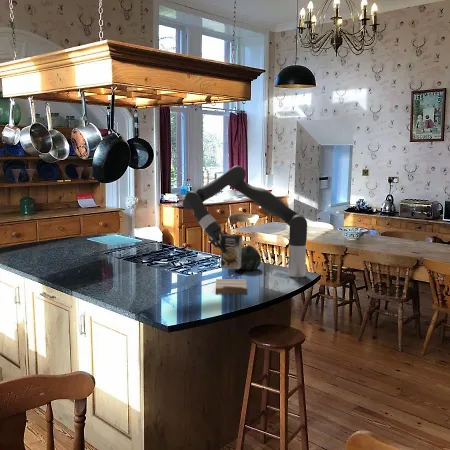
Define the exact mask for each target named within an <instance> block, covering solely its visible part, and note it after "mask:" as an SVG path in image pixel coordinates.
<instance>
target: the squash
mask: <svg viewBox="0 0 450 450" xmlns="http://www.w3.org/2000/svg"><path fill="white" fill-rule="evenodd" d="M261 263H262V258H261V254H260V252H259V251H258V250H257V249H256V248H255V247H254V246H252V245H246V246H244V247H242V249H241V267H240V268H239V269H241V270H246V271H247V272H249V271H254V270H257V269H258V268H259V267H260V265H261Z"/></svg>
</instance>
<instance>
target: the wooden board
mask: <svg viewBox="0 0 450 450" xmlns="http://www.w3.org/2000/svg"><path fill="white" fill-rule="evenodd" d="M215 294H238V295H239V294H248V286H247V279H245V278H242V279H239V278H238V279H237V278H235V279H233V278H228V279H227V278H215Z"/></svg>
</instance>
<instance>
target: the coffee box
mask: <svg viewBox="0 0 450 450" xmlns="http://www.w3.org/2000/svg"><path fill="white" fill-rule="evenodd" d="M242 241H243V235H242V234H233V233H232V234H229V233H227V234H224V235H222V245H223V246H224V247H225V248H226V250H227V252H226V253H225V254H224V253H223V252H222V251H221V250H220V252H221V253H220V255H221V256H220V259H221V260H220V269H229V270H231V269H232V270H239V269H240V267H241V249H242V248H243V247H242V246H243V245H242V244H243V243H242Z"/></svg>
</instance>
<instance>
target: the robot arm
mask: <svg viewBox="0 0 450 450" xmlns="http://www.w3.org/2000/svg"><path fill="white" fill-rule="evenodd" d="M246 175H247V173H246V170H245V168H244V167H243V166H240V165H235V166H234V165H233V166H232V167H230V168H229V170H227V171H226V172H225V173H223V174H222V175H220V176H219V177H217V178H216V179H214V180H212V181H211V182H209V183H207V184H204V185H203V186H201V187H200V188H199V187H198V189H197V190H196V191H193V190H188V191H187V192H186V194H184V195H185V196H184V198H183V201H182V207H183V208H184V209H185V210H188V211H192V210H193V216H194V218H195V219H196V221H197V222H198V224H199V226H201V228H202V230H203V231H204V232H205V233H206V235H207V236H208V239H209V241H210V242H211V244H212V245H213V246H214V248H218V249H220V252H221V251H222V252H223V253H224V254H225V253H226V252H227V250H226V248H225V247H224V246H223V245H222V235H224V234H228V233H227V231H224V232H223V231H222V227H221V225H220V224H219V223H218V221H217V220H216V219H215V218H214V216H212V215H211V213H210V211H208V209H207V208H206V206H205V204H204V202H205V201H207V200H209V199H211V198H213V197H214V196H216V195H217V194H218V193H220V192H221V191H222V190H223V189H225V188H226V187H228V186H229V187H230V188H232V189H234V190H235V191H237V192H239V193H240V194H242V195H243V196H246V197H247V198H248V199H249V200H251V201H253V202H254V203H255V204H256V205H258V206H259V207H260V208H262V209H263V210H265V211H267V212H268V213H269V214H272V215H274V216H276V217H278V218H280V219H281V220H282V221H284V222H285V224H287V225H288V227H289V237H288V261H287V262H288V265H287V266H288V268H287V276H288V277H291V278H304V277H306V264H307V263H306V259H307V254H306V253H307V239H308V238H307V237H308V221H307V220H306V217H304V216H303V215H302V214H300V213H298V212H296V211H294V210H293V209H291V207H288V206H287V205H286V204H285V203H284V202H283V201H282V200H280V198H278V197H277V196H276V195H275V194H273V193H272V192H270V191H269V190H267V189H265V188H262V187H256V186H253V185H251V184H249V183H248V182H246V181H245V178H246Z"/></svg>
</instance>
